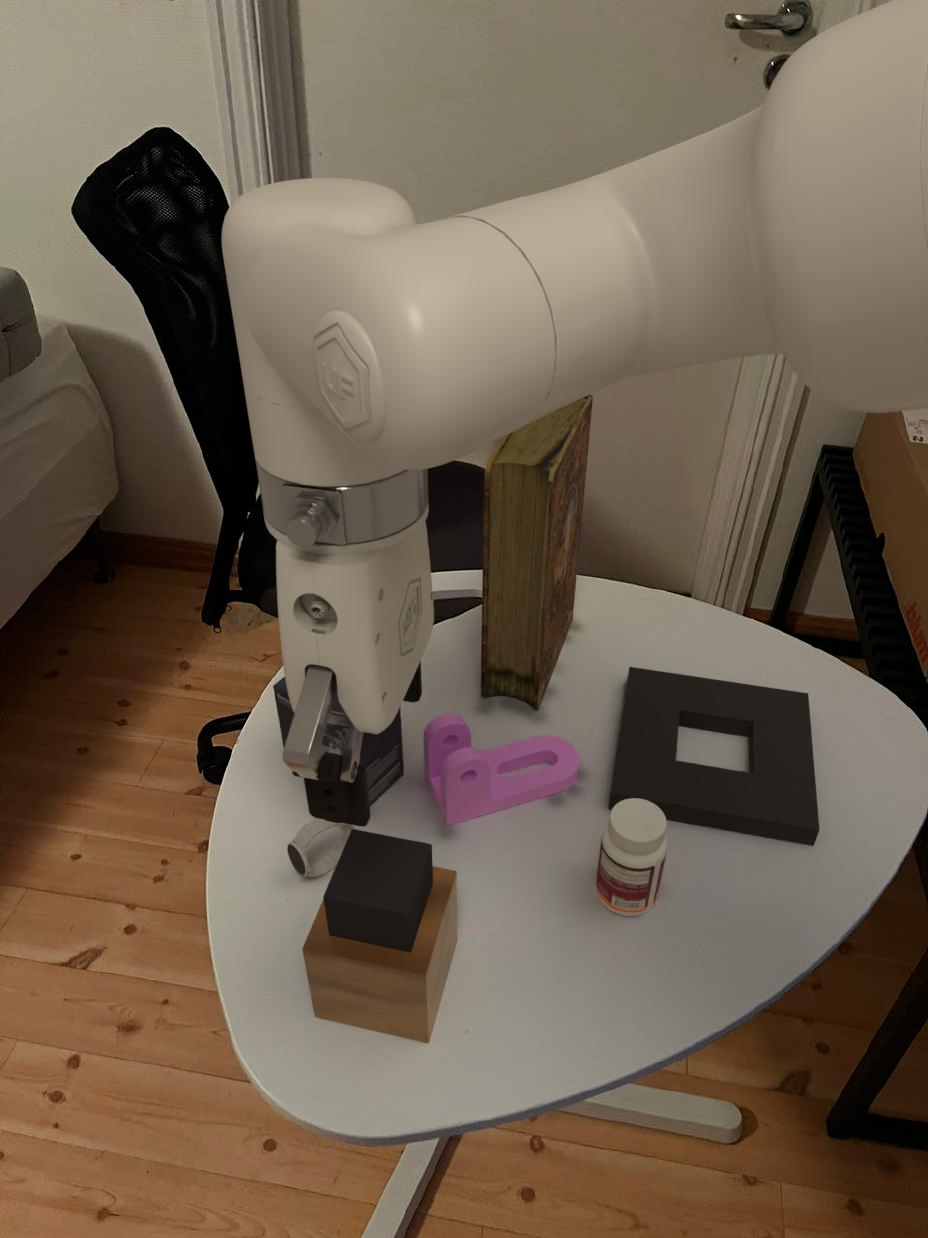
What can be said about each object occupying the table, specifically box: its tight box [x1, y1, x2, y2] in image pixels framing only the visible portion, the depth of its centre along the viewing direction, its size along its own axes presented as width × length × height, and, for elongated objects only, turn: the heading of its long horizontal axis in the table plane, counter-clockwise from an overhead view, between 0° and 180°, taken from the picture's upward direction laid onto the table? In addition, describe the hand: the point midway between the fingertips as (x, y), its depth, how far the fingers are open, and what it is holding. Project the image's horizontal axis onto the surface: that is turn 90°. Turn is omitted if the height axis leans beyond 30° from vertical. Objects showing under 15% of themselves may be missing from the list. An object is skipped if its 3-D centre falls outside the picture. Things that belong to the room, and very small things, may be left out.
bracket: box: [422, 712, 581, 827], centre depth 78 cm, size 13×6×7 cm, turn 111°
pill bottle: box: [595, 798, 669, 917], centre depth 68 cm, size 5×5×8 cm
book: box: [480, 394, 594, 710], centre depth 86 cm, size 16×6×25 cm, turn 162°
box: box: [272, 676, 405, 806], centre depth 78 cm, size 9×6×10 cm, turn 54°
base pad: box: [607, 666, 820, 847], centre depth 82 cm, size 16×16×2 cm
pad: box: [322, 828, 434, 953], centre depth 59 cm, size 5×5×4 cm
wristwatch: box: [286, 818, 355, 878], centre depth 71 cm, size 3×5×5 cm, turn 130°
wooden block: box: [302, 865, 458, 1044], centre depth 63 cm, size 8×8×8 cm
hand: (369, 752), depth 52 cm, fingers open, 9 cm apart
